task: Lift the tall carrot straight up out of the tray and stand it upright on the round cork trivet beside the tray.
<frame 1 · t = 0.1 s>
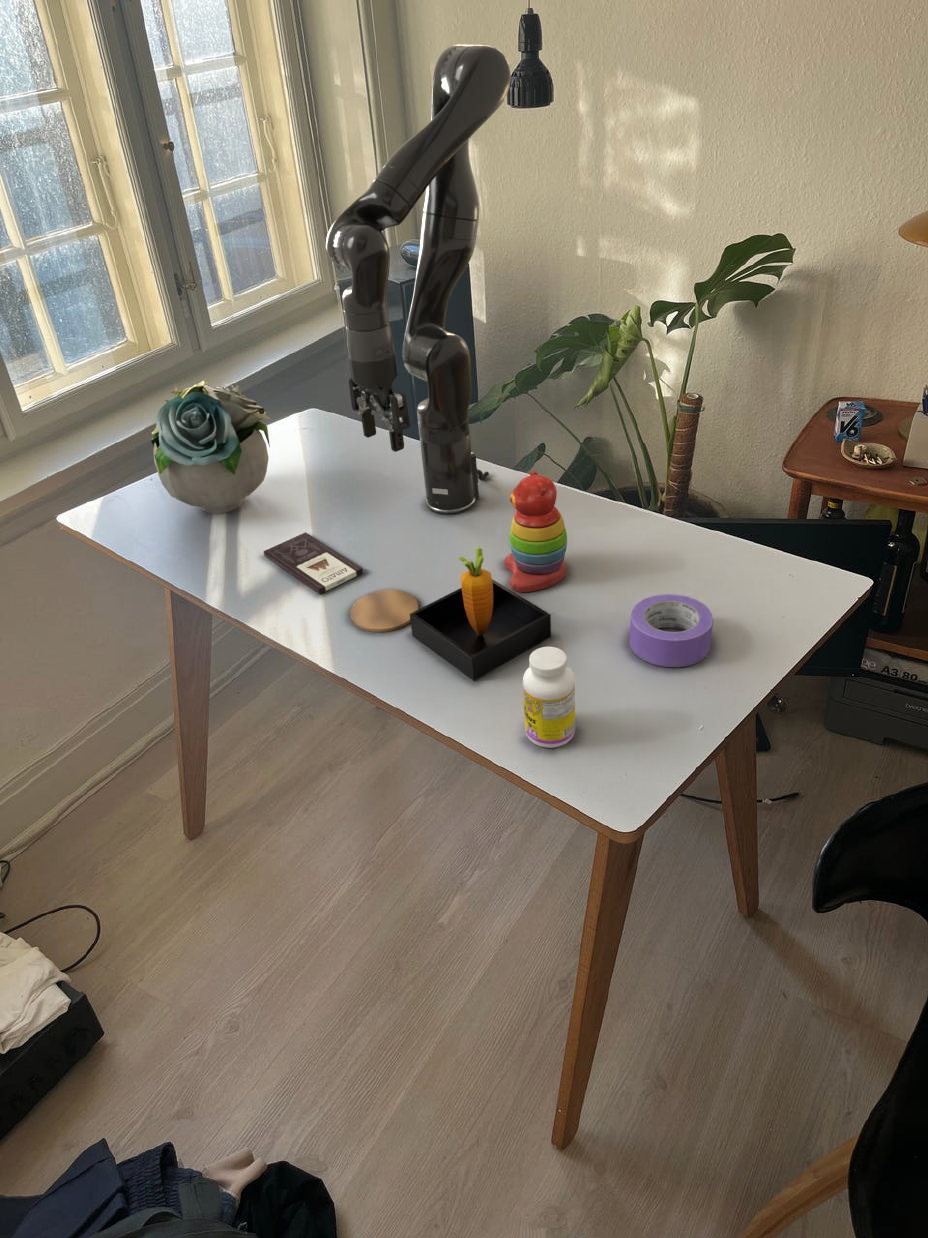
hand: (383, 442, 159), 17 cm above the table, tool pointing down, fingers open, 8 cm apart
chocolate bar: (312, 565, 161), on the table
trivet: (384, 611, 148), on the table
flower arrangement: (223, 504, 183), on the table
tape roll: (669, 644, 136), on the table
tray: (481, 636, 140), on the table
carrot: (481, 636, 140), resting in tray
supplement bottle: (550, 734, 122), on the table
stacking bear: (537, 574, 154), on the table
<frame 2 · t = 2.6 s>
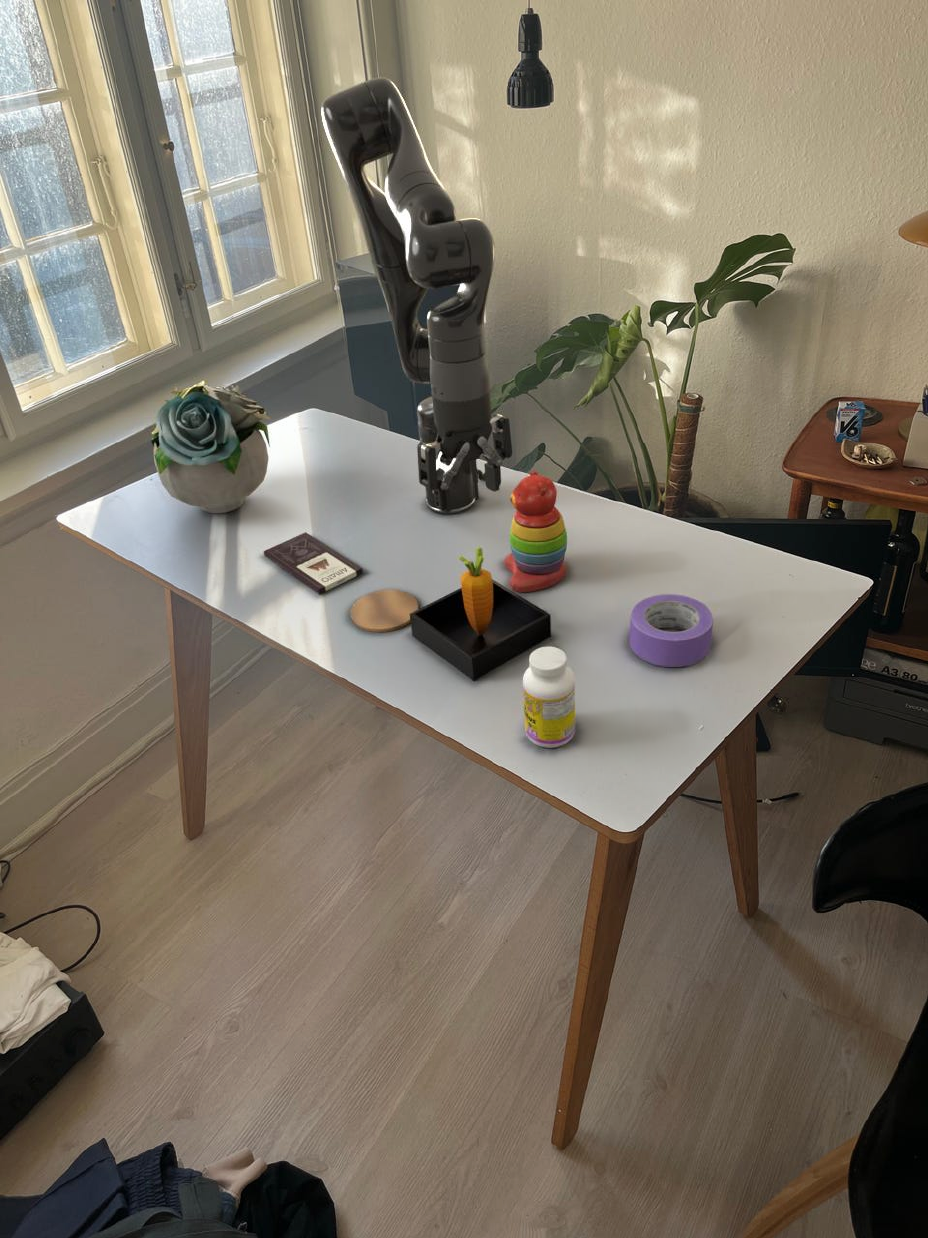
hand: (469, 499, 127), 24 cm above the table, tool pointing down, fingers open, 8 cm apart
nothing on the table moved.
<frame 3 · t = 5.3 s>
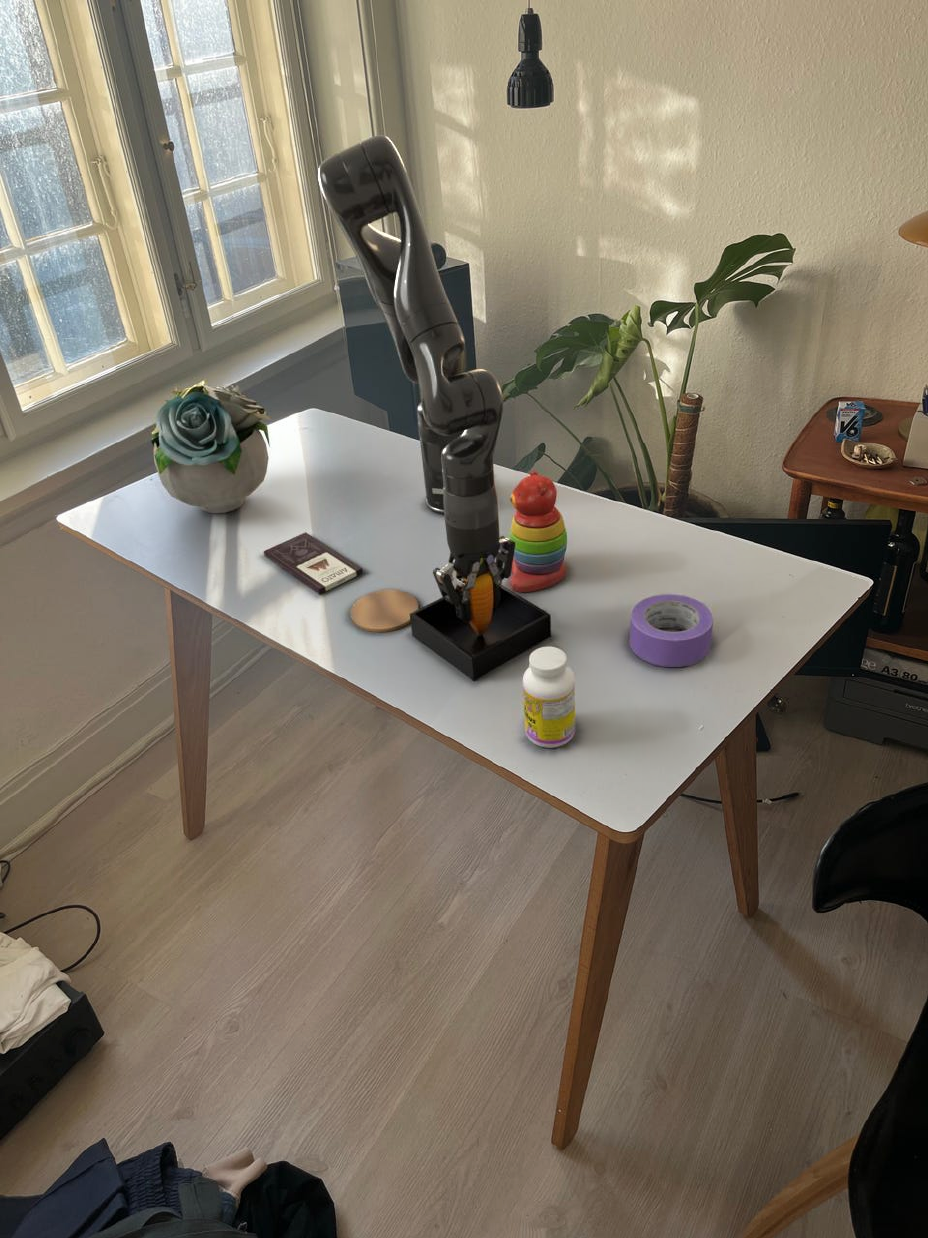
hand: (479, 612, 138), 5 cm above the table, tool pointing down, fingers closed on carrot, 4 cm apart
carrot: (481, 636, 140), resting in tray, touching gripper
everything else where it was.
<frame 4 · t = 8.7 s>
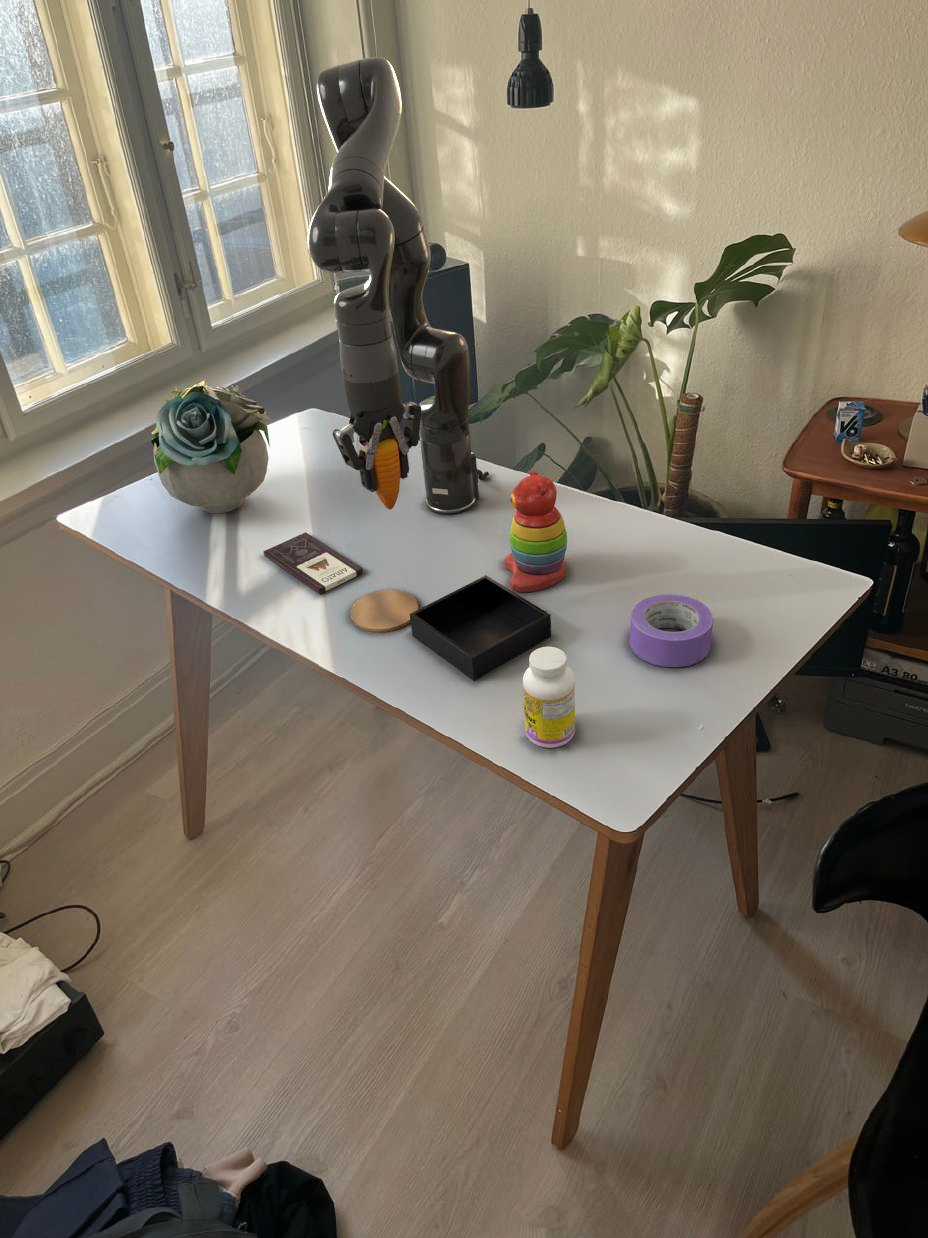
hand: (386, 482, 133), 24 cm above the table, tool pointing down, fingers closed on carrot, 4 cm apart
carrot: (390, 510, 135), point 19 cm above the table, touching gripper
everything else where it was.
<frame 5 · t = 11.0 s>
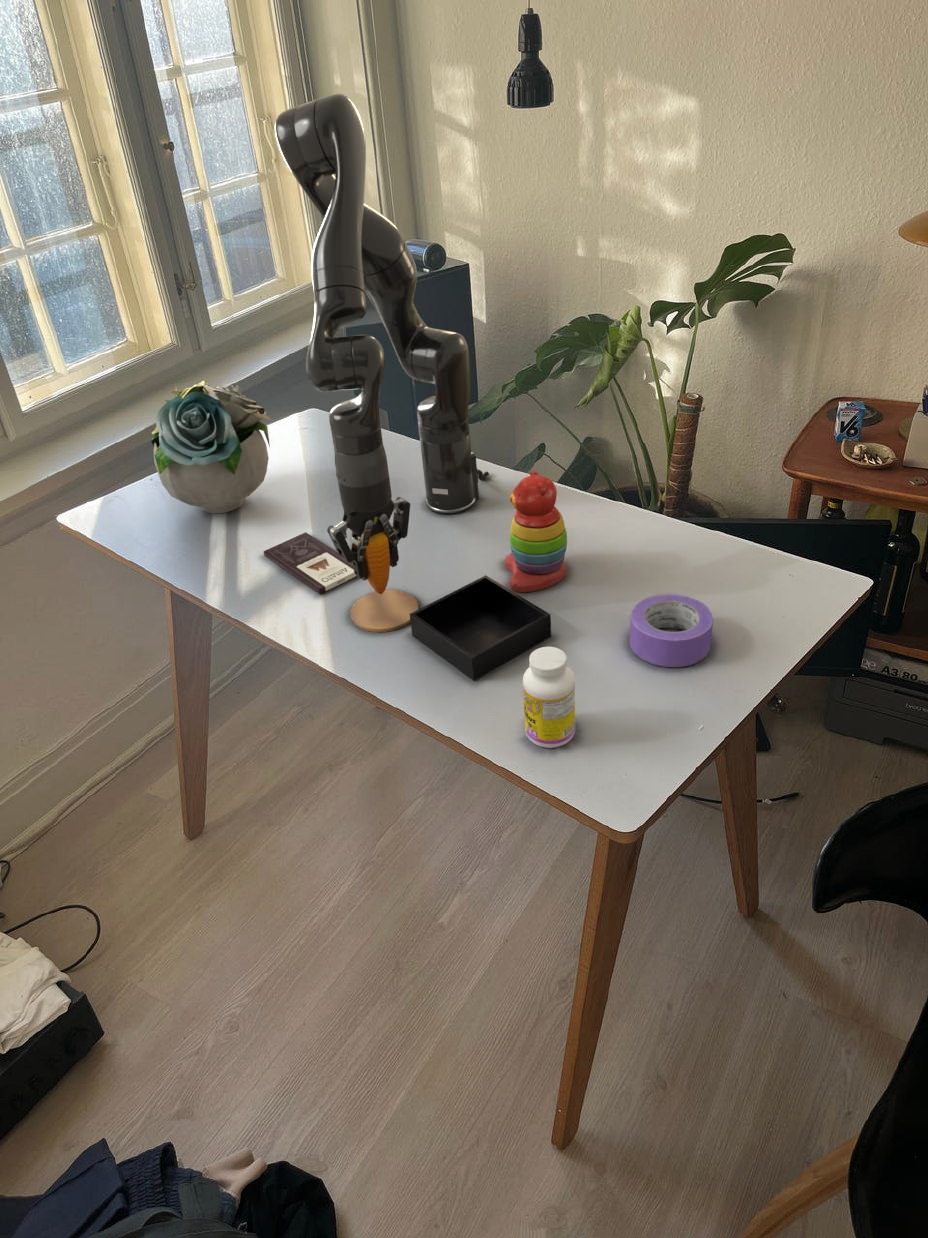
hand: (377, 570, 143), 8 cm above the table, tool pointing down, fingers closed on carrot, 4 cm apart
carrot: (380, 594, 146), point 3 cm above the table, touching gripper
everything else where it was.
when the fingers open (5 cm above the table, at t = 12.3 s): carrot stays where it is, resting on trivet.
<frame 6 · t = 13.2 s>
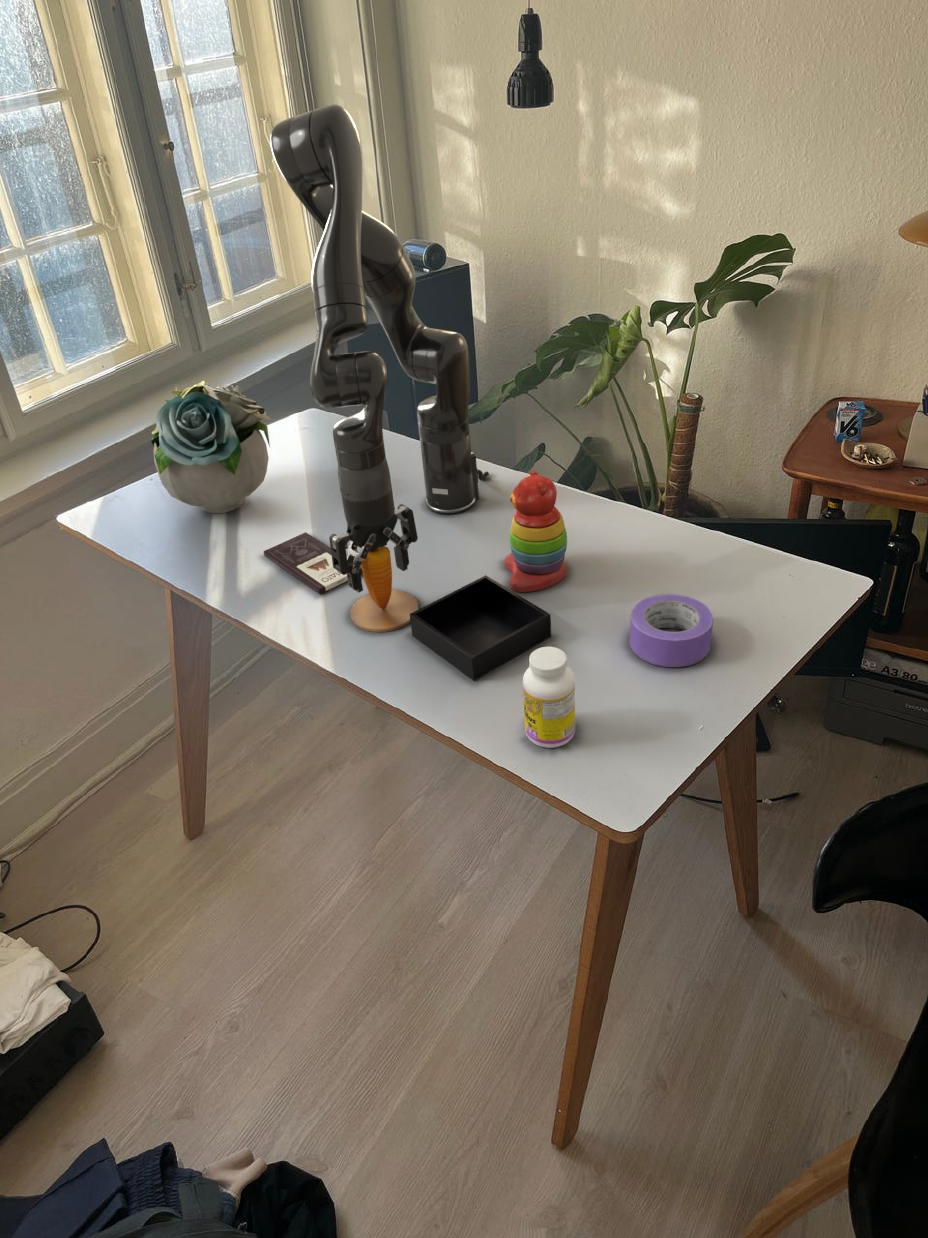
hand: (380, 579, 144), 6 cm above the table, tool pointing down, fingers open, 8 cm apart
carrot: (383, 609, 148), resting on trivet
everything else where it was.
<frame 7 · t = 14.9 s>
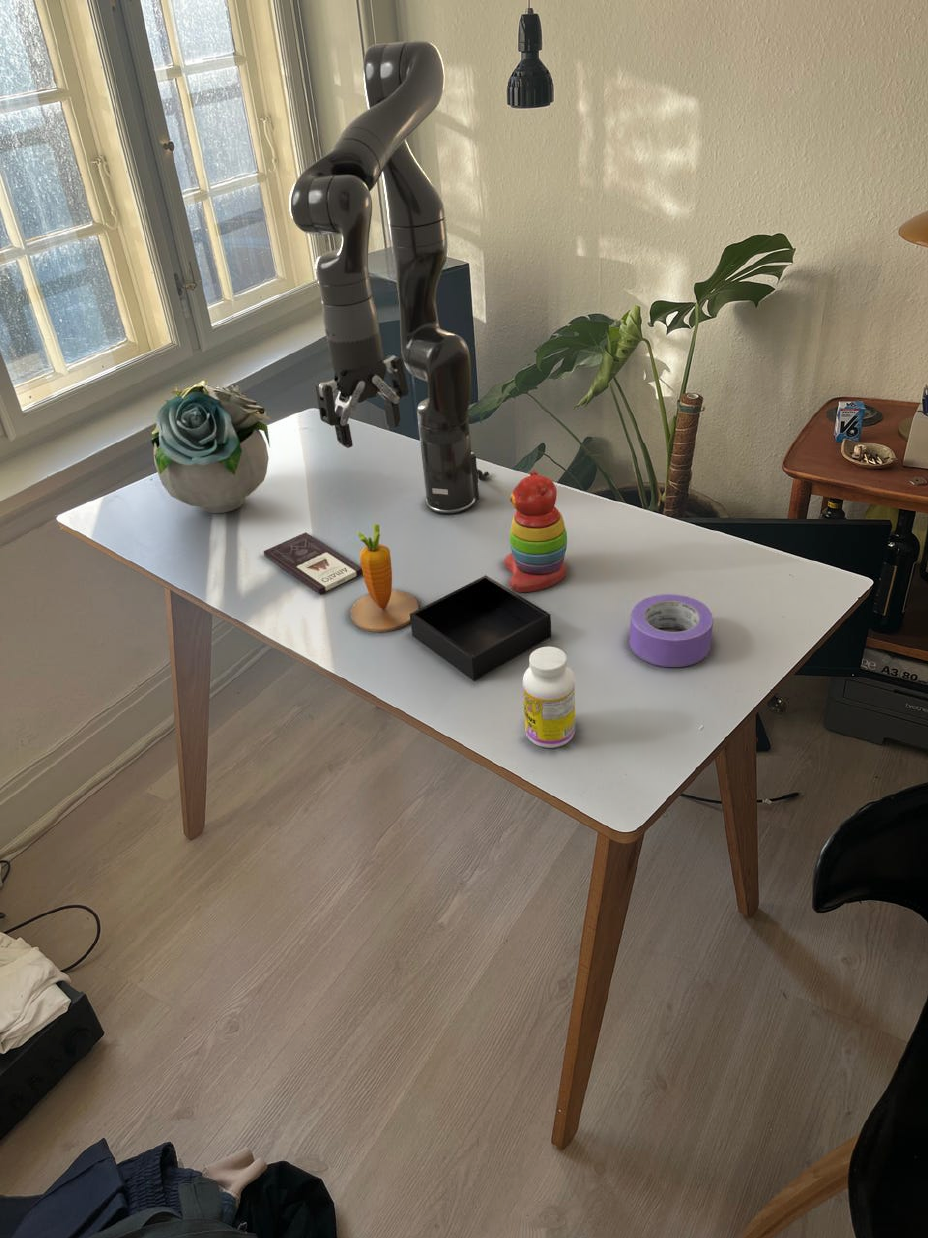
hand: (370, 435, 138), 27 cm above the table, tool pointing down, fingers open, 8 cm apart
nothing on the table moved.
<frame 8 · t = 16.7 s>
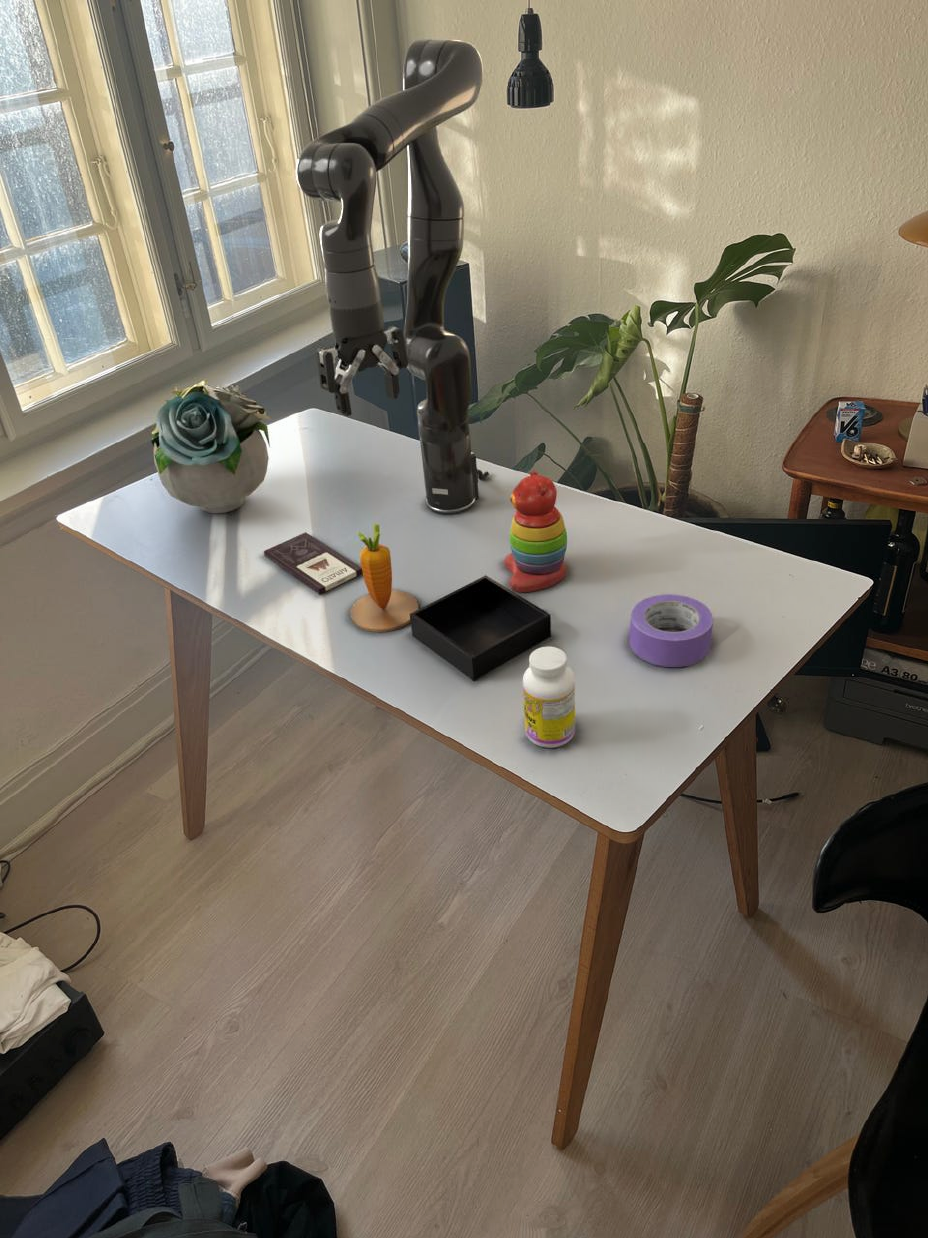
hand: (369, 405, 140), 30 cm above the table, tool pointing down, fingers open, 8 cm apart
nothing on the table moved.
at the end: carrot 0.1 cm off-centre on the trivet, point 0.4 cm above the trivet's base; carrot tilted 0°; carrot touching trivet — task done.
